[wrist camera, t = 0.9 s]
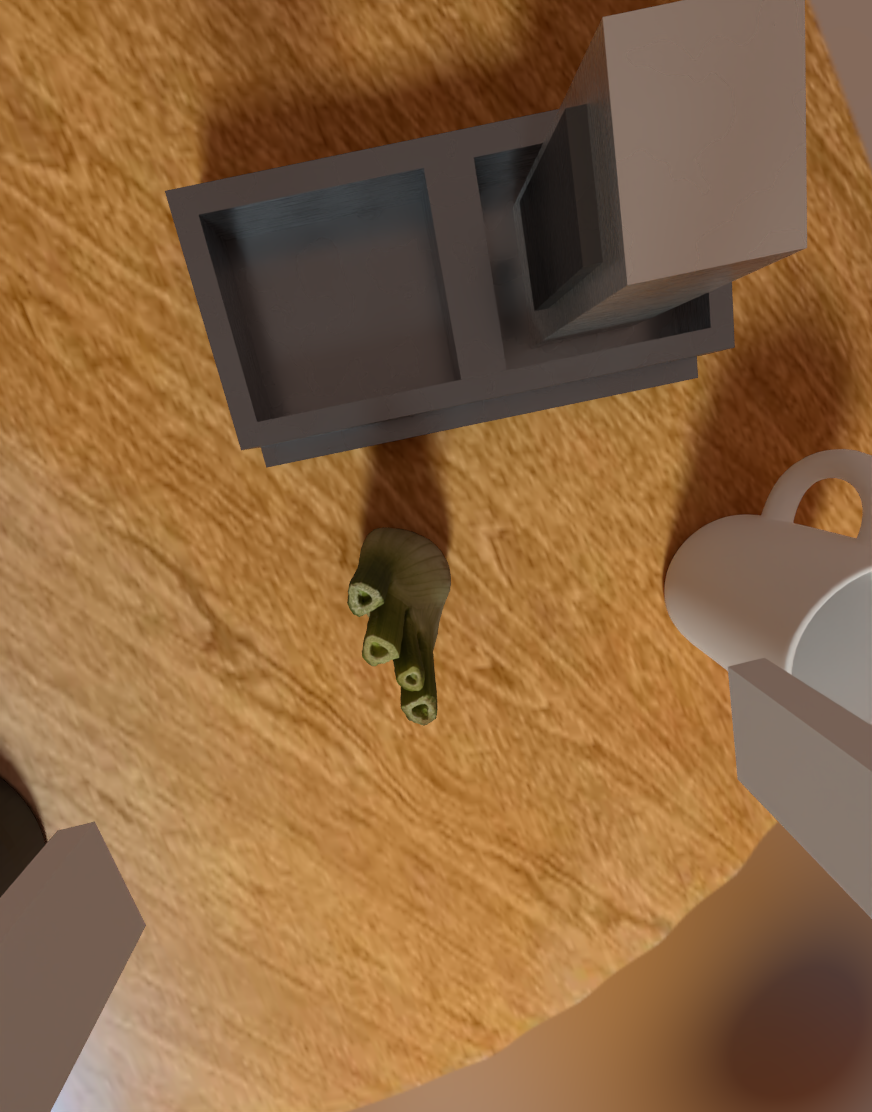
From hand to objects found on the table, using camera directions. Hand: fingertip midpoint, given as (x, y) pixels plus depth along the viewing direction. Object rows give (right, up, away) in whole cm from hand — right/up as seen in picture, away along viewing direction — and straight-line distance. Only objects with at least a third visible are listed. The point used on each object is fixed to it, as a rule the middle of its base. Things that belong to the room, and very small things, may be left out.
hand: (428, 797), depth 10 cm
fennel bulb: (-2, +4, +18) cm, 19 cm away
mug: (+18, +5, +19) cm, 26 cm away
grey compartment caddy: (+1, +18, +15) cm, 23 cm away
